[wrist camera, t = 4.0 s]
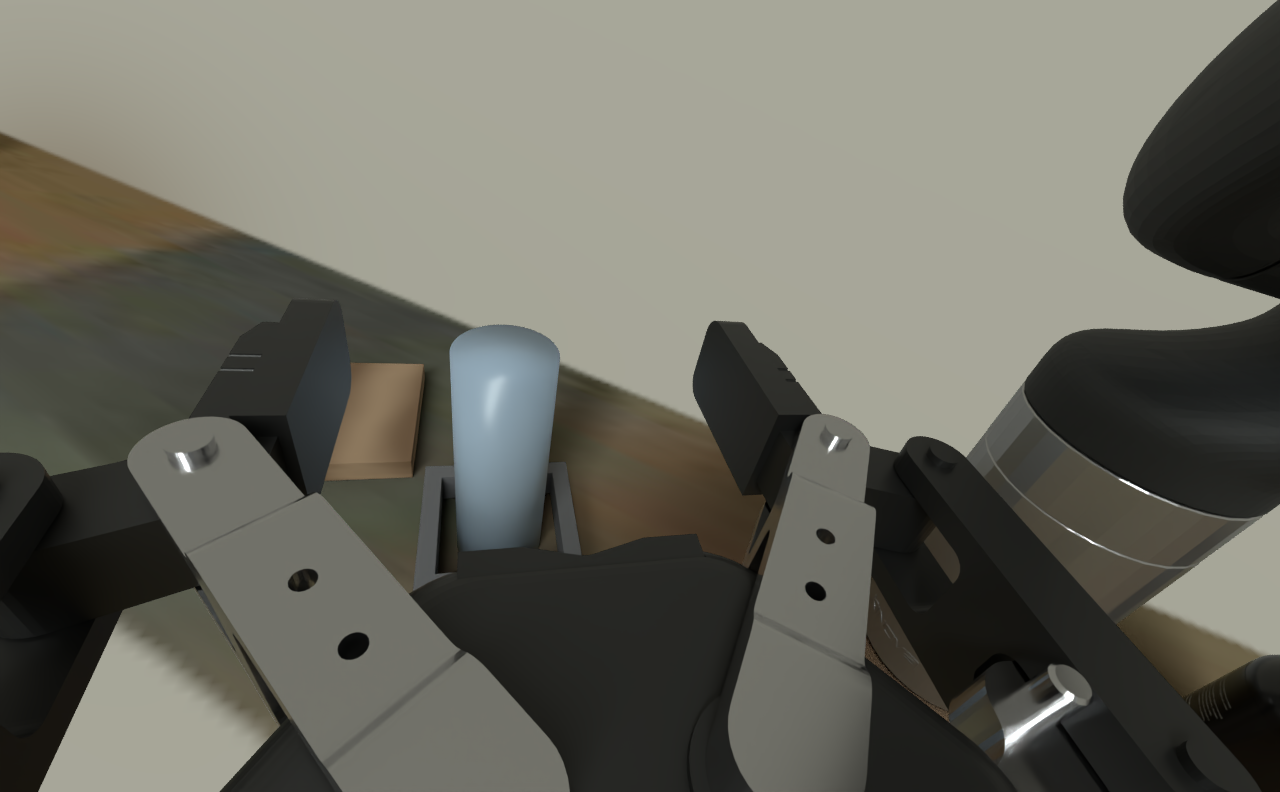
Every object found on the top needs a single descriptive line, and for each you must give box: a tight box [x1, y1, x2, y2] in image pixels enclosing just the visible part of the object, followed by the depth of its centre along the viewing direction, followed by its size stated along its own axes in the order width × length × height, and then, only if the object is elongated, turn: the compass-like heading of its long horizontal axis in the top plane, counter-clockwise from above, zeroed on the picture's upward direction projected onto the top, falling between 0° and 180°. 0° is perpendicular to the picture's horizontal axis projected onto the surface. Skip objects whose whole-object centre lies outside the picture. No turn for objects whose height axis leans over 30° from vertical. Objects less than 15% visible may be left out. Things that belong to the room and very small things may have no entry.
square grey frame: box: [413, 462, 581, 591], centre depth 33 cm, size 9×9×2 cm
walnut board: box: [324, 363, 425, 481], centre depth 38 cm, size 11×11×2 cm
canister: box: [450, 325, 560, 552], centre depth 29 cm, size 5×5×14 cm
